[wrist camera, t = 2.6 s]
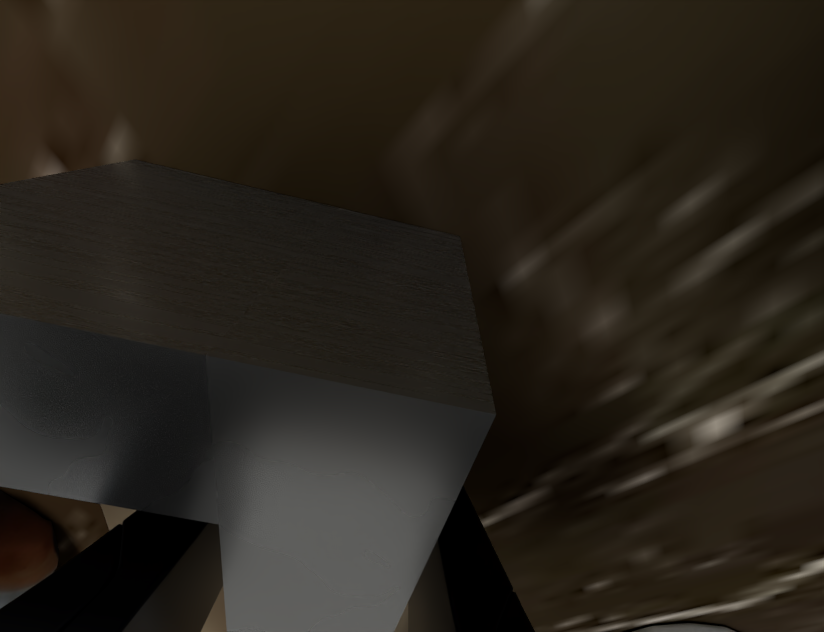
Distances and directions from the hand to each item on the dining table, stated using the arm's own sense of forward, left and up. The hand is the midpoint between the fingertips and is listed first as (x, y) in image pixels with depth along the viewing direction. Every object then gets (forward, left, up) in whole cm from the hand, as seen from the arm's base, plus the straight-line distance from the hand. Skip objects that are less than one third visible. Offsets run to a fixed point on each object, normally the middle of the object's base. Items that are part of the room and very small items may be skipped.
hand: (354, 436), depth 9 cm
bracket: (+2, -1, -1) cm, 3 cm away
